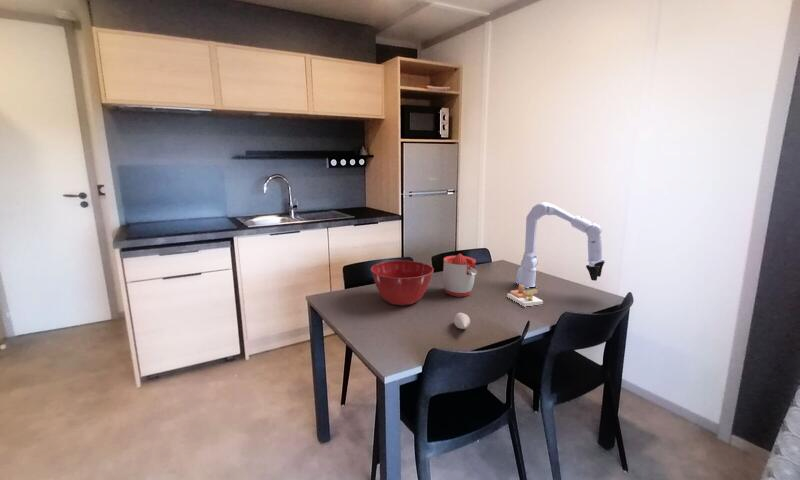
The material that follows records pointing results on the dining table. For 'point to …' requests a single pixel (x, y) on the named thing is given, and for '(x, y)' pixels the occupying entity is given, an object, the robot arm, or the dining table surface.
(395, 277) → the mixing bowl
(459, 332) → the dining table surface
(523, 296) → the cover
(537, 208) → the robot arm
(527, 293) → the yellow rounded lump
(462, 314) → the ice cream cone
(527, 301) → the latch box
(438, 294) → the dining table surface
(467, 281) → the citrus juicer
